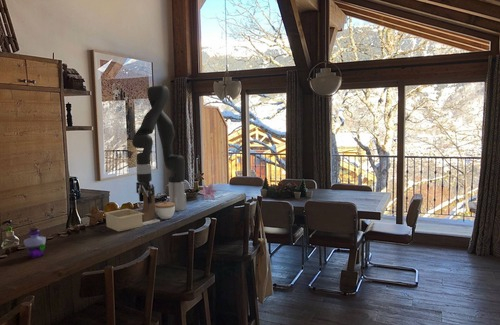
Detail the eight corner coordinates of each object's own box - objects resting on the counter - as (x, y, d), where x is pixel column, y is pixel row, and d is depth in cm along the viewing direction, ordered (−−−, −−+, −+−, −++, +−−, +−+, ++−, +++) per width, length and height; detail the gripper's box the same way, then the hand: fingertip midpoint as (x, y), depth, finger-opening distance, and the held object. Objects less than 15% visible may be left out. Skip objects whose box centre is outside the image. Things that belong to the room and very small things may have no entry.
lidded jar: (151, 219, 220) (151, 202, 219) (163, 214, 230) (163, 198, 229) (167, 220, 216) (166, 203, 215) (179, 216, 225) (178, 200, 224)
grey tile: (149, 218, 222) (149, 216, 222) (160, 221, 214) (159, 219, 214) (132, 221, 215) (132, 219, 215) (143, 225, 207) (143, 223, 207)
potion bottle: (42, 258, 159) (40, 229, 158) (20, 259, 158) (17, 230, 157) (51, 251, 167) (49, 223, 166) (30, 252, 167) (27, 224, 165)
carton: (128, 221, 217) (127, 208, 216) (144, 226, 204) (144, 213, 203) (104, 225, 207) (103, 212, 207) (120, 232, 195) (119, 218, 194)
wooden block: (143, 222, 209) (142, 188, 207) (137, 221, 211) (136, 187, 209) (155, 218, 217) (154, 186, 215) (149, 217, 219) (148, 185, 217)
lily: (196, 200, 274) (197, 189, 269) (202, 191, 284) (204, 180, 279) (211, 206, 272) (213, 195, 267) (218, 196, 282) (220, 186, 276)
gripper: (157, 172, 209) (158, 203, 211) (143, 170, 219) (145, 199, 221) (144, 174, 204) (146, 205, 206) (131, 172, 214) (132, 201, 216)
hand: (145, 202), depth 213 cm, fingers open, 8 cm apart
